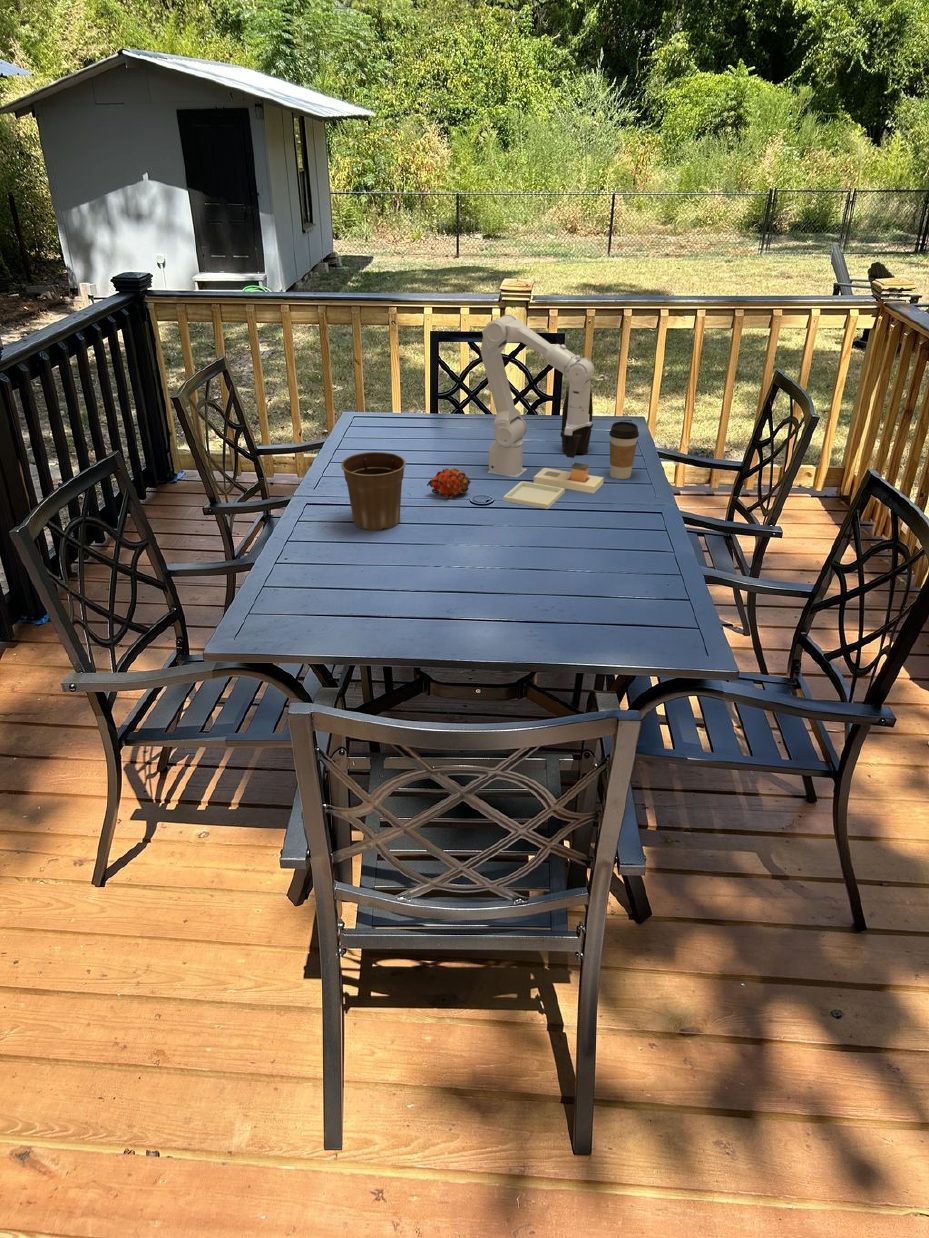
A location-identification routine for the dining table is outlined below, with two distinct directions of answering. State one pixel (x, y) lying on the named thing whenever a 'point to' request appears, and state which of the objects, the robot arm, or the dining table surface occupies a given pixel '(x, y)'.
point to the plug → (579, 472)
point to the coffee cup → (622, 448)
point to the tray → (534, 495)
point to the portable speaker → (564, 418)
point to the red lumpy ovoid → (449, 483)
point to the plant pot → (374, 488)
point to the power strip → (567, 480)
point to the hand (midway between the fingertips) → (575, 453)
